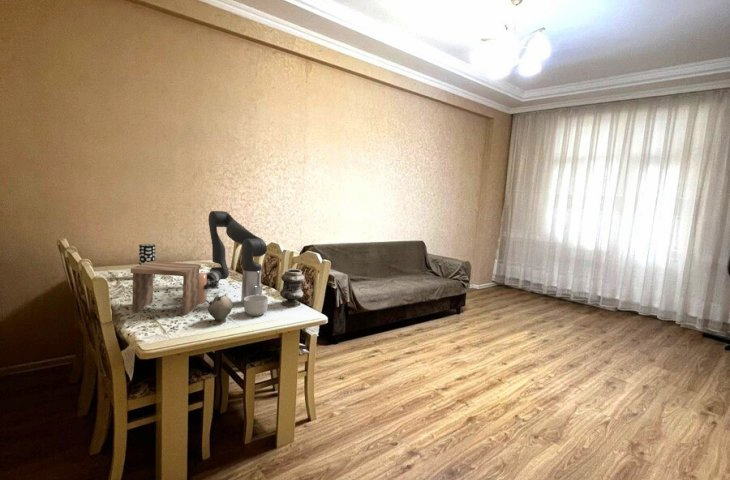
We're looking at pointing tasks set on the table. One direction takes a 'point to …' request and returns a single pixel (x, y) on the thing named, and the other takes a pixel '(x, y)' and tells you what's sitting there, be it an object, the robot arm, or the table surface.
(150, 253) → the spotted tube
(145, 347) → the table surface
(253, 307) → the teacup
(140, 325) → the table surface
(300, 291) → the dark mottled vase
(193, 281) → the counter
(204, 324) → the table surface
